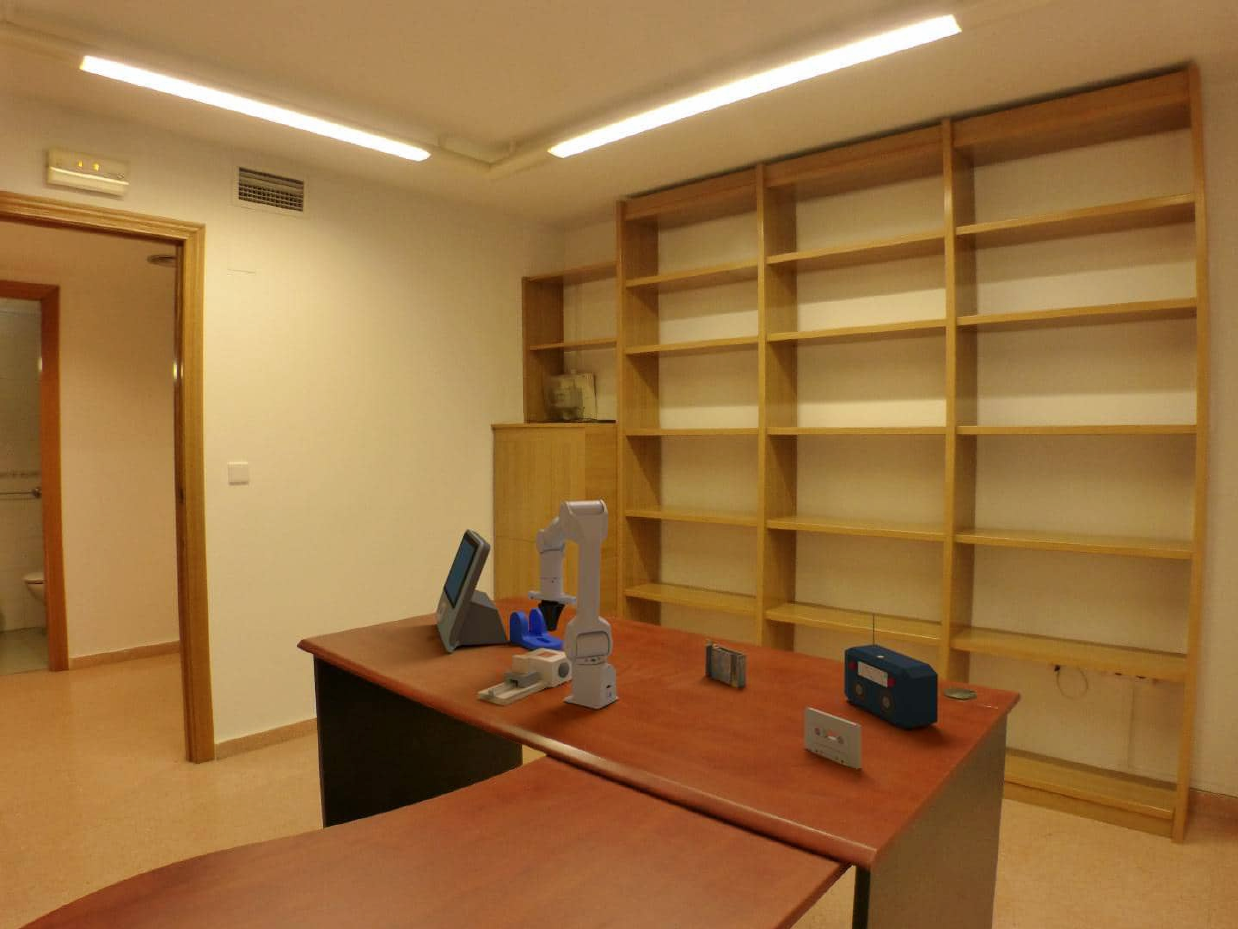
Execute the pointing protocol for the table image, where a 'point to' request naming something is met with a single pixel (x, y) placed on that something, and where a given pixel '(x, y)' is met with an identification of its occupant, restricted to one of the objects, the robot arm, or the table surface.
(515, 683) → the rail
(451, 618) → the touchscreen device
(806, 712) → the cassette
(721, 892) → the table surface
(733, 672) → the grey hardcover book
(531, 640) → the bracket
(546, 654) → the button
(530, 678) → the carriage
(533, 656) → the cabinet
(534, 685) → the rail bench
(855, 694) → the radio
